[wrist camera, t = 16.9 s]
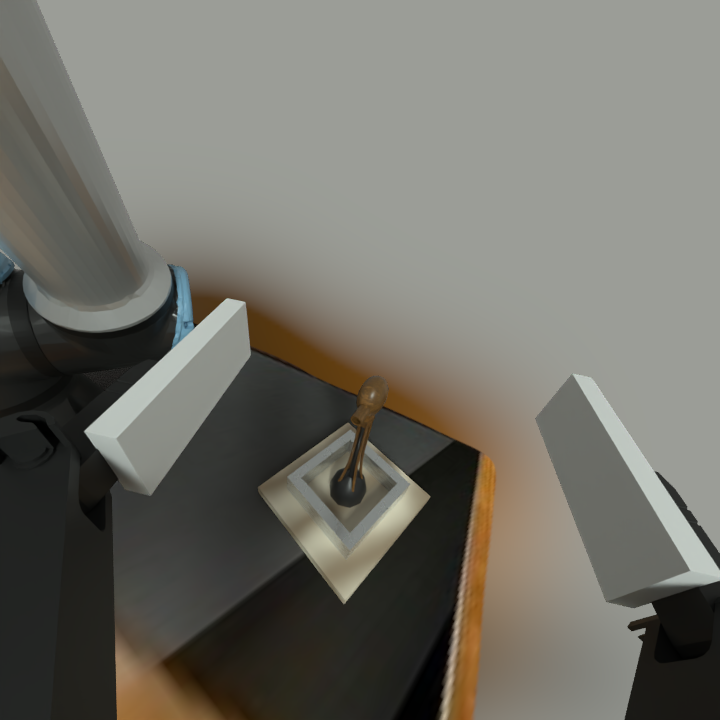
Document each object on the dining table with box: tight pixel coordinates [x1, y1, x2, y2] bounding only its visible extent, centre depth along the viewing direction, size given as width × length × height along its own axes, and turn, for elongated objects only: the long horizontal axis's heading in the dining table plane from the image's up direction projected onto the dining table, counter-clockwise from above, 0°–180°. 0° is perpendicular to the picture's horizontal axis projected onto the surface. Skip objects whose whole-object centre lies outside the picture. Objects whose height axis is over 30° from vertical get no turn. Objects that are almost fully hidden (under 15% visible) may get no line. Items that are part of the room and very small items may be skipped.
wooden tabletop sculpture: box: [330, 376, 389, 508], centre depth 33 cm, size 6×5×20 cm
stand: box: [258, 423, 430, 604], centre depth 40 cm, size 16×16×2 cm
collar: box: [287, 430, 410, 560], centre depth 38 cm, size 11×11×3 cm
